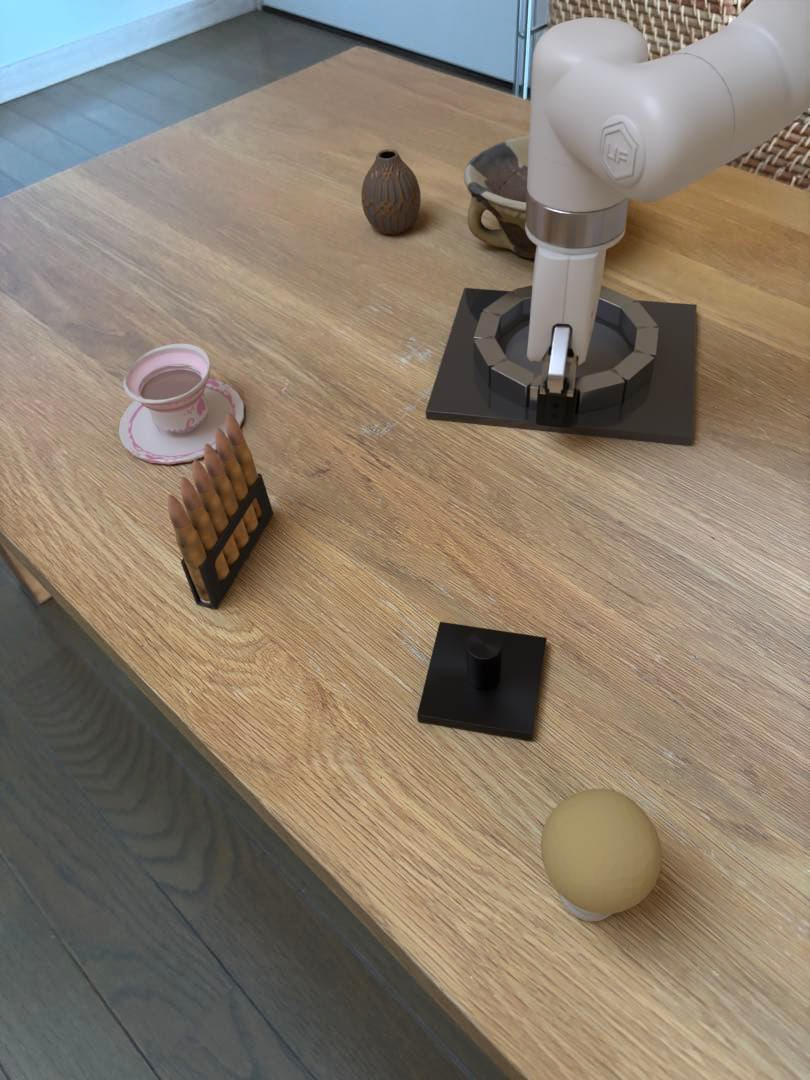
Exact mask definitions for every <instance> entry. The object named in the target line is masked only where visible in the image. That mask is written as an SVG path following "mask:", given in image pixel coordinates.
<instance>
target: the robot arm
mask: <svg viewBox="0 0 810 1080" xmlns="http://www.w3.org/2000/svg"><path fill="white" fill-rule="evenodd" d="M530 78H531V79H530V80H531V84H530V105H529V107H530V108H529V132H528V133H529V134H528V135H529V152H528V178H527V196H526V223H525V231H526V234H527V236H528V238H529V239H530V240H531V241H532V242H533V243H534V244H536V245H537V247H536V255H535V259H534V264H533V274H532V284H531V285H532V297H531V311H530V325H529V338H528V349H527V357H528V359H529V360H530V361H532V362H533V361H538V362H540V361H541V360H542V358H543V366H542V375H541V383H540V385H539V386H538V394H537V410H536V423H537V424H538V425H542V426H552V427H561V428H571V427H573V423H574V414H575V405H576V396H577V389H575V388H574V385H575V377H576V369H577V363H578V365H580V364H582V363H583V362H584V361H585V360H586V355H587V351H588V347H589V343H590V339H591V335H592V330H593V326H594V322H595V317H596V312H597V307H598V301H599V296H600V290H601V285H602V283H603V279H604V278H603V277H604V270H605V263H606V256H607V250H608V249H610V248H612V247H614V246H616V245H617V244H618V243H619V242H620V241H621V240H622V239H623V237H624V236H625V233H626V227H627V219H628V212H629V205H630V200H632V201H633V202H634V201H635V202H640V203H654V202H658V201H663V200H665V199H668V198H670V197H672V196H674V195H676V194H678V193H679V192H681V191H683V190H685V189H687V188H688V187H690V186H692V185H693V184H695V183H697V182H698V181H700V180H702V179H704V178H706V177H708V176H709V175H711V174H713V173H714V172H715V171H717V170H719V169H720V168H722V167H724V166H726V165H728V164H729V163H731V162H733V161H735V160H736V159H738V158H740V157H741V156H744V155H745V154H747V153H749V152H751V151H753V150H754V149H756V148H758V147H760V146H761V145H763V144H765V143H766V142H768V141H769V140H770V139H772V138H774V136H776V135H778V134H779V133H780V132H782V131H783V130H784V129H785V128H787V127H788V126H789V125H791V124H792V123H793V122H794V121H796V120H797V119H798V118H800V116H802V115H803V114H804V113H805V112H807V111H808V110H809V109H810V0H752V1H751V2H750V3H749V4H748V5H747V6H746V7H745V8H744V9H743V10H742V11H741V12H740V13H739V14H738V15H737V16H736V17H735V18H733V20H731V21H730V22H729V23H728V24H727V25H725V26H724V27H723V28H721V29H720V30H718V31H716V32H714V33H712V34H710V35H707V36H705V37H702V38H701V39H698V40H696V41H694V42H693V43H690V44H688V45H686V46H684V47H682V48H680V49H678V50H675V51H674V52H672V53H670V54H667V55H666V56H662V57H658V58H655V59H652V60H649V48H648V43H647V40H646V38H645V36H644V35H643V33H642V32H641V31H640V30H639V29H638V28H636V26H634V25H632V24H630V23H628V22H627V21H626V22H625V21H623V20H619V19H614V18H610V17H609V18H608V17H597V16H596V17H595V16H594V17H593V16H592V17H591V16H590V17H580V18H575V19H571V20H566V21H563V22H559V23H557V24H555V25H554V26H551V27H550V28H549V29H547V30H546V31H544V33H543V34H542V35H541V36H540V38H539V39H538V41H537V43H536V45H535V47H534V50H533V54H532V62H531V77H530ZM549 354H550V355H549ZM566 364H570V371H569V379H568V380H567V379H564V377H565V367H566Z"/></svg>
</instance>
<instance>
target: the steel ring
mask: <svg viewBox="0 0 810 1080" xmlns="http://www.w3.org/2000/svg"><path fill="white" fill-rule="evenodd" d="M508 291H509V292H508V293H506V294H505V295H504V296H502V297H501V298H499V299H498V300H497V301H495V302H494V303H492V304H491V305H490V306H488V307H487V308H485V309H484V310H483V312H482V313H481V316H480V319H479V322H478V325H477V328H476V331H475V334H474V362H475V364H476V366H477V368H478V370H479V371H480V373H481V375H482V377H483V379H484V380H485V382H486V384H487V386H488V387H491V390H493V391H494V392H496V393H498V394H500V395H502V396H504V397H506V398H507V399H509V400H511V401H513V402H515V403H517V404H519V405H520V406H522V407H524V408H526V407H527V406H528V405H529V409H531V410H537V394H538V386H539V385H540V383H541V375H540V374H536V373H534V372H532V371H530V370H528V369H526V368H524V367H522V366H520V365H518V364H516V363H514V362H512V361H510V360H508V359H507V357H506V356H505V354H504V352H503V351H502V349H501V347H500V346H499V341H500V337H501V336H503V335H504V334H506V333H507V332H508V331H510V330H511V329H512V328H514V327H515V326H516V325H518V324H519V323H520V322H522V321H524V320H528V319H530V311H531V297H532V284H531V285H527V286H523V287H519V288H518V287H517V288H513V289H512V290H508ZM512 291H513V292H512ZM635 300H636V299H635V298H634V297H633V298H632V297H630V296H628V295H626V294H624V293H621V292H619V291H616V290H614V289H612V288H609V287H607V286H605V285H602V284H601V290H600V296H599V301H598V307H597V312H596V317H595V319H596V320H598V321H601V322H603V323H605V324H607V325H609V326H612V327H614V328H616V329H618V330H619V332H620V333H621V334H622V335H623V337H624V338H625V339H626V341H627V342H628V343H629V345H630V346H631V347H632V349H633V352H632V353H631V354H630V355H628V356H627V357H626V358H625V359H624V360H622V361H621V362H620V363H619V364H618V365H617V366H615V367H614V368H613V369H611V370H607V371H603V372H599V373H595V374H591V375H587V376H583V377H579V378H575V385H574V388H575V389H577V396H576V405H575V411H577V412H578V414H581V413H585V412H589V411H593V410H597V409H601V408H605V407H609V406H613V405H617V404H621V401H623V402H625V401H626V400H627V399H628V398H629V397H631V396H632V395H633V394H634V393H635V392H636V391H637V390H639V389H640V388H641V387H642V386H643V385H644V384H646V383H647V382H648V381H649V380H650V378H651V377H652V373H653V368H654V363H655V358H656V350H657V340H658V330H659V328H657V327H658V325H657V324H656V323H655V321H654V320H653V319H652V318H651V317H650V315H649V314H648V313H647V312H646V310H645V309H644V308H643V307H642V306H641V304H640V303H639V302H635ZM564 379H567V380H568V379H569V377H564Z"/></svg>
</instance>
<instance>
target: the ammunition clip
mask: <svg viewBox="0 0 810 1080" xmlns="http://www.w3.org/2000/svg"><path fill="white" fill-rule="evenodd" d="M226 431H227V436H228V438H227V436H226V435H225V433H224V432H223V431H222V430H221V429H220V428H217V429H216V433H215V444H216V451H215V450H214V449H213V448H212V447H211V446H210V445H209V444H205V447H204V457H203V458H204V459H203V461H204V465H205V466H204V465H203V464H202V463H201V462H200V461H199V460H198V459H196V460H193V461H192V478H193V482H194V485H193V484H192V482H191V481H190V480H189V479H188V478H187V477H185V476H182V477H181V478H180V484H179V489H180V495H181V499H182V502H183V505H182V503H181V502H180V500H179V499H178V498H177V497H176V496H174V494H168V496H167V511H168V514H169V518H170V522H171V524H172V528H173V531H174V536H175V541H176V544H177V546H178V549H179V552H180V553H181V556H182V559H181V561H180V565H181V567H182V569H183V572H184V575H185V577H186V580H187V583H188V585H189V589H190V592H191V593H192V596H193V599H194V602H195V604H196V605H197V606H201V607H204V608H209V609H213V610H218V608H219V607H220V605H221V603H222V602H223V600H224V598H225V597H226V595H227V593H228V592H229V590H230V588H231V586H232V585H233V583H234V582H235V580H236V578H237V576H238V575H239V573H240V572H241V570H242V568H243V567H244V565H245V564H246V562H247V560H248V559H249V556H250V555H251V553H252V552H253V549H255V546H256V545H257V543H258V542H259V540H260V539H261V537H262V535H263V534H264V532H265V530H266V528H267V527H268V525H269V523H270V522H271V520H272V518H273V517H274V509H273V506H272V504H271V501H270V497H269V495H268V491H267V488H266V485H265V481H264V477H263V475H262V474H261V473H258V472H257V469H256V468H257V467H256V465H255V461H254V458H253V454H252V452H251V450H250V448H249V446H248V444H247V441H246V439H245V436H244V434H243V430H242V428H241V426H239V424H238V422H237V420H236V419H235V417H234V416H233V415H232V414H231V413H227V416H226Z"/></svg>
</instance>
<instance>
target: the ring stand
mask: <svg viewBox="0 0 810 1080" xmlns="http://www.w3.org/2000/svg"><path fill="white" fill-rule="evenodd" d="M547 641H548V638H547V637H545V636H539V635H531V634H526V633H519V632H511V631H506V630H499V629H492V628H484V627H478V626H471V625H464V624H459V623H451V622H445V621H439V623H438V628H437V631H436V636H435V640H434V644H433V648H432V651H431V656H430V659H429V660H430V661H429V665H428V669H427V673H426V676H425V681H424V685H423V690H422V693H421V697H420V702H419V704H418V705H419V706H418V710H417V714H416V716H417V722H418V723H422V724H427V725H433V726H434V725H435V726H440V727H447V728H452V729H458V730H462V731H463V730H464V731H469V732H476V733H481V734H487V735H492V736H498V737H503V738H510V739H515V740H519V741H520V740H521V741H526V742H533V737H534V730H535V724H536V717H537V709H538V702H539V697H540V690H541V684H542V683H541V682H542V677H543V676H542V675H543V669H544V662H545V655H546V649H547Z"/></svg>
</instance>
